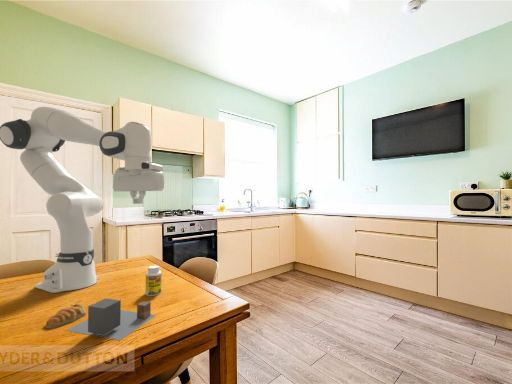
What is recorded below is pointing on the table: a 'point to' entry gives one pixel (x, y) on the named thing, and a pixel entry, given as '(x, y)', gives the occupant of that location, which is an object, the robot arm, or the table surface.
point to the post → (143, 310)
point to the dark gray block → (104, 316)
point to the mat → (126, 327)
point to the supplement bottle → (153, 281)
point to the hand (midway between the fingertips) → (137, 203)
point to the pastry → (66, 316)
